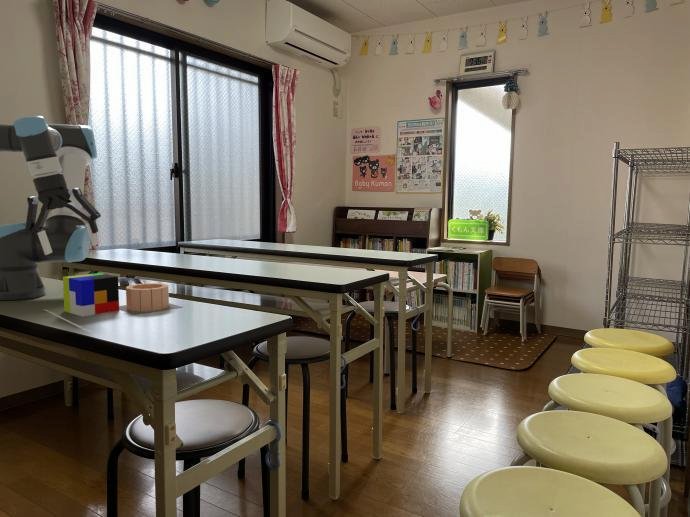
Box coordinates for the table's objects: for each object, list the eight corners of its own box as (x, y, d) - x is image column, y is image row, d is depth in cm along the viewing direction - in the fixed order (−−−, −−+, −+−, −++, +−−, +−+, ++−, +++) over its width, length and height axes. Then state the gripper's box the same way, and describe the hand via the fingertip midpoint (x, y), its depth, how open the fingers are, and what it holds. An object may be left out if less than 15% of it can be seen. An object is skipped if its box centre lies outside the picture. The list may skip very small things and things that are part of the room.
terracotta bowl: (120, 307, 143) (119, 286, 142) (157, 301, 151) (157, 281, 150) (137, 313, 135) (136, 291, 135) (175, 307, 143) (175, 286, 143)
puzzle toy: (82, 318, 131) (80, 280, 130) (64, 313, 137) (62, 276, 136) (119, 312, 139) (118, 276, 138) (101, 307, 145) (99, 273, 144)
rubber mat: (113, 308, 143) (113, 306, 143) (160, 302, 153) (160, 300, 153) (134, 316, 133) (134, 315, 133) (183, 309, 143) (183, 307, 143)
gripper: (-7, 185, 134) (21, 260, 140) (86, 167, 134) (110, 244, 140) (10, 182, 141) (36, 254, 147) (98, 165, 141) (120, 238, 147)
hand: (72, 249), depth 143 cm, fingers open, 13 cm apart
